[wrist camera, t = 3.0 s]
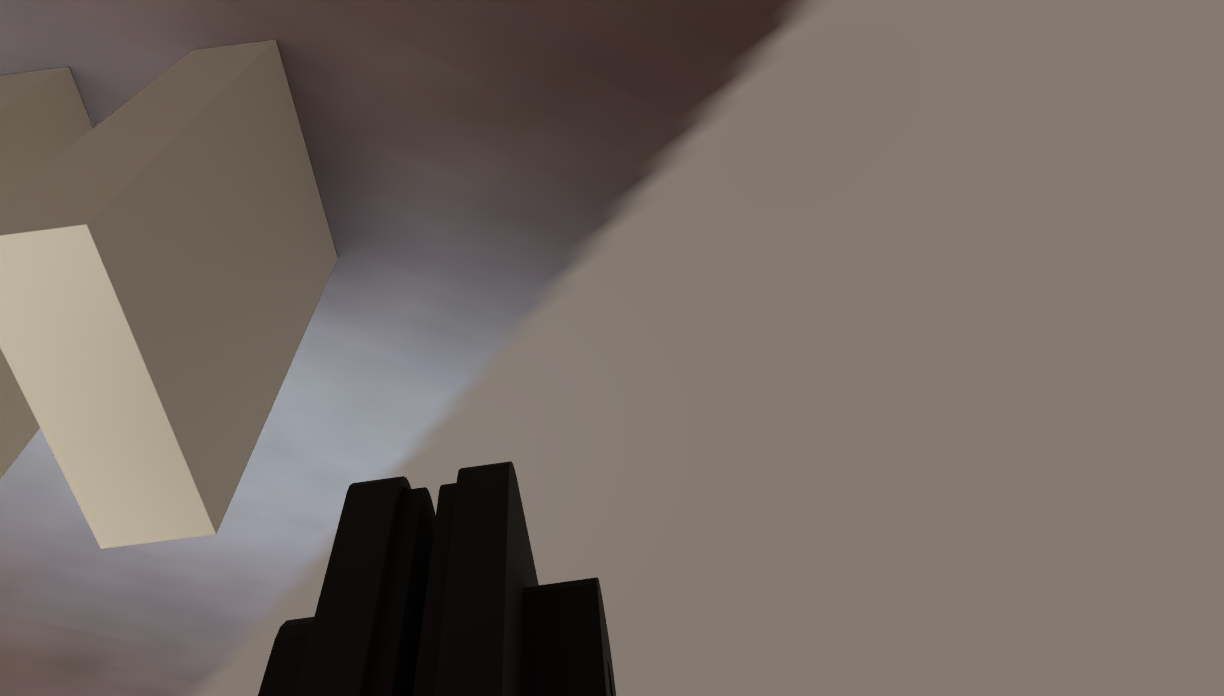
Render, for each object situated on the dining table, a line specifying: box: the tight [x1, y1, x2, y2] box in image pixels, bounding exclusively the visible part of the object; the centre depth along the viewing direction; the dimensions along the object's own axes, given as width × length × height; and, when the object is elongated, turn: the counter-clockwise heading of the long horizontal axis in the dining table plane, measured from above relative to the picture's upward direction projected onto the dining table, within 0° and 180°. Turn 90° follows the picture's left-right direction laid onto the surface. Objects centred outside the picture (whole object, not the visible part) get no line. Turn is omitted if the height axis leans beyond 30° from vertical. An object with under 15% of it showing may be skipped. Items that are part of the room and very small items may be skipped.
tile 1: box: [0, 39, 337, 549], centre depth 18 cm, size 2×5×10 cm, turn 7°
